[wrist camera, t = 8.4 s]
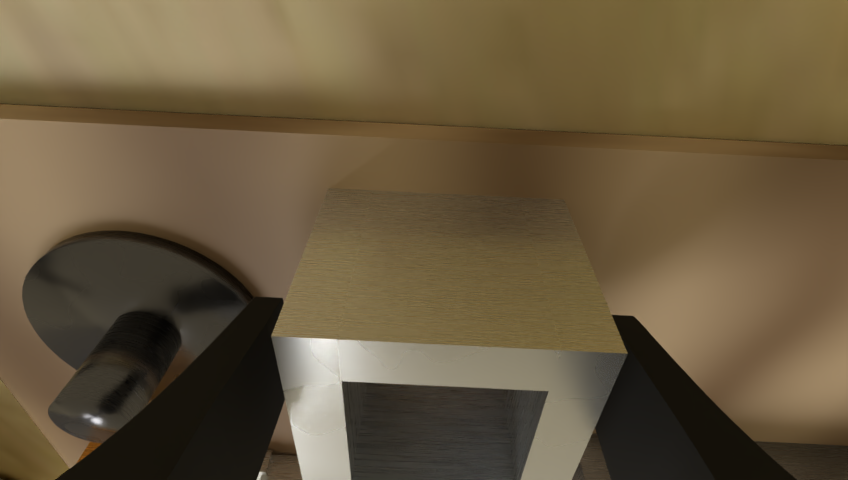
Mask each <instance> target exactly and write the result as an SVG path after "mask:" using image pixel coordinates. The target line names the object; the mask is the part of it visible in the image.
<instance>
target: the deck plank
mask: <svg viewBox="0 0 848 480" xmlns="http://www.w3.org/2000/svg"><path fill="white" fill-rule="evenodd" d="M328 188H337V189H357V190H378V191H398V192H418V193H439V194H459V195H480V196H500V197H520V198H541V199H561V200H564V201H565V203H566V205H567V208H568V210H569V213H570V215H571V218H572V220H573V222H574V225H575V227H576V230H577V232H578V234H579V237H580V239H581V242H582V244H583V247H584V249H585V251H586V254H587V256H588V259H589V261H590V264H591V266H592V268H593V271H594V273H595V276H596V278H597V281H598V283H599V285H600V288H601V290H602V293H603V295H604V297H605V300H606V302H607V305H608V307H609V310H610V312H611V314H612V315H627V316H634V317H635V318H636V319H637V320H638V321H639V322H640V323H641V324H642V325H643V326H644V327H645V328H646V329H647V331H648V332H649V333H650V334H651V335H652V336H653V337H654V338H655V339H656V341H657V342H658V343H659V344H660V345H661V346H662V347H663V348H664V349H665V350H666V352H667V353H668V354H669V355H670V356H671V357H672V358H673V359H674V360H675V361H676V363H677V364H678V365H679V366H680V367H681V368H682V369H683V370H684V371H685V372H686V373H687V374H688V376H689V377H690V378H691V379H692V380H693V381H694V382H695V383H696V384H697V385H698V386H699V387H700V388H701V389H702V390H703V391H704V392H705V393H706V395H707V396H708V397H709V398H710V399H711V400H712V401H713V402H714V403H715V404H716V405H717V406H718V407H719V408H720V409H721V410H722V411H723V412H724V413H725V414H726V415H727V416H728V417H729V418H730V419H731V420H732V421H733V422H734V423H735V424H736V425H737V426H739V427H740V428H741V429H742V430H743V431H744V432H745V433H746V434H747V435H748V436H749V437H750V438H751V439H752V440H753V441H761V442H782V443H802V444H823V445H844V446H848V146H841V145H821V144H801V143H781V142H760V141H740V140H720V139H699V138H679V137H659V136H639V135H618V134H598V133H578V132H557V131H537V130H517V129H497V128H476V127H456V126H436V125H416V124H395V123H375V122H355V121H334V120H314V119H294V118H274V117H253V116H233V115H213V114H192V113H172V112H152V111H132V110H111V109H91V108H71V107H50V106H30V105H10V104H0V379H1V380H2V382H3V383H4V384H5V385H6V387H7V388H8V389H9V391H10V392H11V393H12V395H13V396H14V397H15V398H16V400H17V401H18V402H19V404H20V405H21V406H22V407H23V409H24V410H25V411H26V413H27V414H28V415H29V416H30V418H31V419H32V420H33V422H34V423H35V424H36V426H37V427H38V428H39V429H40V431H41V432H42V433H43V435H44V436H45V437H46V438H47V440H48V441H49V442H50V444H51V445H52V446H53V448H54V449H55V450H56V451H57V453H58V454H59V455H60V457H61V458H62V459H63V460H64V462H65V463H66V464H67V466H68V467H69V468H71V467H73V466H74V465H75V464H76V463H77V461H78V460H79V458H80V457H81V455H82V454H83V452H84V450H85V449H86V447H87V446H88V444H89V443H90V441H86V440H83V439H80V438H77V437H74V436H72V435H70V434H68V433H66V432H65V431H63V430H61V429H60V428H59V427H57V426H56V425H55V424H54V423H53V422H52V420H51V419H50V417H49V415H48V408H49V406H50V405H51V403H52V402H53V401H54V400H55V398H56V397H57V396H58V394H59V393H60V392H61V390H62V389H63V388H64V387H65V385H66V384H67V383H68V381H69V380H70V379H71V377H72V376H73V375H74V374H75V372H76V371H77V370H76V369H74V368H72V367H71V366H70V365H68V364H67V363H66V362H64V361H63V360H62V359H60V358H59V357H58V356H57V355H56V354H55V353H54V352H53V351H52V350H50V348H49V347H48V346H47V345H46V344H45V343H44V342H43V341H42V340H41V339H40V337H39V336H38V334H37V333H36V332H35V330H34V329H33V327H32V325H31V323H30V322H29V320H28V318H27V315H26V312H25V310H24V306H23V300H22V287H23V284H24V280H25V277H26V275H27V273H28V272H29V270H30V268H31V267H32V266H33V265H34V264H35V263H36V262H37V261H38V260H39V259H40V258H41V257H42V256H43V255H45V254H46V253H47V252H48V251H49V250H50V249H51V248H53V247H54V246H55V245H57V244H58V243H60V242H61V241H64V240H66V239H68V238H70V237H73V236H76V235H80V234H83V233H87V232H95V231H129V232H138V233H143V234H148V235H153V236H157V237H160V238H163V239H167V240H170V241H173V242H176V243H178V244H181V245H183V246H186V247H188V248H190V249H192V250H194V251H196V252H198V253H200V254H202V255H204V256H206V257H208V258H209V259H211V260H212V261H214V262H216V263H217V264H219V265H220V266H222V267H223V268H224V269H226V270H227V271H228V272H230V273H231V274H232V275H233V276H234V277H235V278H237V279H238V280H239V281H240V282H241V283H242V284H243V285H244V286H245V287H246V288H247V290H248V291H249V292H250V293H251V294H252V295H253V297H275V298H283V302H285V299H286V297H287V294H288V291H289V289H290V286H291V284H292V281H293V278H294V276H295V273H296V271H297V268H298V265H299V263H300V260H301V258H302V255H303V253H304V250H305V247H306V245H307V242H308V240H309V237H310V234H311V232H312V229H313V227H314V224H315V221H316V219H317V216H318V214H319V211H320V209H321V206H322V203H323V201H324V198H325V196H326V193H327V190H328ZM150 402H151V400H150V401H149V403H150ZM149 403H148V404H149ZM148 404H147V405H148ZM593 433H596V430H595V428H594V431H593ZM596 434H597V433H596ZM268 450H272V452H273V455H289V456H297V452H296V447H295V442H294V438H293V433H292V429H291V424H290V420H289V415H288V411H287V406H286V402H285V401H284V404H283V407H282V410H281V413H280V416H279V419H278V421H277V424H276V427H275V430H274V433H273V436H272V438H271V441H270V444H269V447H268Z"/></svg>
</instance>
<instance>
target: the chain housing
mask: <svg viewBox="0 0 848 480" xmlns="http://www.w3.org/2000/svg"><path fill="white" fill-rule="evenodd" d="M754 442H755V443H756V444H757V445H758V446H759V447H761V448H762V449H763V450H764V451H765V452H766V453H767V454H768V455H769V456H770V457H771V458H773V459H774V460H775V461H776V462H777V463H778V464H779V465H780V466H782V467H783V468H784V469H785V470H786V471H787V472H789V473H790V474H791V475H792V476H793V477H794V478H796V479H797V480H848V446H844V445H823V444H802V443H782V442H761V441H754ZM572 480H611V478H610V475H609V471H608V468H607V465H606V462H605V459H604V456H603V452H602V449H601V446H600V443H599V439H598V436H597V434H596V433H592V435H591V437H590V440H589V442H588V444H587V446H586V449H585V451H584V453H583V455H582V458H581V460H580V462H579V464H578V467H577V469H576V471H575V473H574V476H573V478H572Z"/></svg>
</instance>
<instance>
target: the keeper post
mask: <svg viewBox="0 0 848 480" xmlns="http://www.w3.org/2000/svg"><path fill="white" fill-rule="evenodd" d="M253 298H254V297H253V295H252V294H251V293H250V292H249V291H248V290H247V288H246V287H245V286H244V285H243V284H242V283H241V282H240V281H239V280H238V279H237V278H235V277H234V276H233V275H232V274H231V273H230V272H228V271H227V270H226V269H224V268H223V267H222V266H220V265H219V264H217V263H216V262H214V261H212V260H211V259H209V258H208V257H206V256H204V255H202V254H200V253H198V252H196V251H194V250H192V249H190V248H188V247H186V246H183V245H181V244H178V243H176V242H173V241H170V240H167V239H163V238H160V237H157V236H153V235H148V234H143V233H138V232H129V231H95V232H87V233H83V234H80V235H76V236H73V237H70V238H68V239H66V240H64V241H61V242H60V243H58V244H57V245H55V246H54V247H53V248H51V249H50V250H49V251H48V252H47V253H46V254H45V255H43V256H42V257H41V258H40V259H39V260H38V261H37V262H36V263H35V264H34V265H33V266H32V267H31V268H30V270H29V272H28V273H27V275H26V277H25V280H24V284H23V287H22V300H23V306H24V310H25V312H26V315H27V318H28V320H29V322H30V323H31V325H32V327H33V329H34V330H35V332H36V333H37V334H38V336H39V337H40V339H41V340H42V341H43V342H44V343H45V344H46V345H47V346H48V347H49V348H50V350H52V351H53V352H54V353H55V354H56V355H57V356H58V357H59V358H60V359H62V360H63V361H64V362H66V363H67V364H68V365H70V366H71V367H72V368H74V369H76V370H77V371H76V372H75V374H74V375H73V376H72V377H71V379H70V380H69V381H68V383H67V384H66V385H65V387H64V388H63V389H62V390H61V392H60V393H59V394H58V396H57V397H56V398H55V400H54V401H53V402H52V403H51V405H50V406H49V408H48V415H49V417H50V419H51V420H52V422H53V423H54V424H55V425H56V426H57V427H59V428H60V429H61V430H63V431H65V432H66V433H68V434H70V435H72V436H74V437H77V438H80V439H83V440H86V441H90V442H95V443H103V442H105V441H106V440H107V439H108V438H109V437H111V436H112V435H113V434H114V433H116V432H117V431H118V430H119V429H120V428H121V427H123V426H124V425H125V424H126V423H127V422H129V421H130V420H131V419H132V418H133V417H134V416H135V415H137V414H138V413H139V412H140V411H141V410H142V409H143V408H144V407H146V406H147V404H148V403H149V401H150V400H151V401H152V400H153V399H154V398H155V397H156V396H157V395H159V394H160V393H161V392H162V391H163V390H164V389H165V388H166V387H167V386H168V385H169V384H170V383H171V382H173V381H174V380H175V379H176V378H177V377H178V376H179V375H180V374H181V373H182V372H183V371H184V370H185V369H186V368H187V367H188V366H189V365H190V364H191V363H192V362H193V361H194V360H195V359H196V358H197V357H198V356H199V355H200V354H201V353H202V352H203V351H204V350H205V349H206V348H207V347H208V346H209V345H210V344H211V343H212V342H213V341H214V340H215V338H216V337H217V336H218V335H219V334H220V333H221V332H222V331H223V330H224V329H225V328H226V327H227V326H228V325H229V324H230V323H231V321H232V320H233V319H234V318H235V317H236V316H237V315H238V314H239V313H240V312H241V311H242V310H243V308H244V307H245V306H246V305H247V304H248V303H249V302H250V301H251V300H252V299H253Z"/></svg>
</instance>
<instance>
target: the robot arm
mask: <svg viewBox="0 0 848 480" xmlns="http://www.w3.org/2000/svg"><path fill="white" fill-rule="evenodd" d="M283 304H284V302H283V298H275V297H254V298H253V299H252V300H251V301H250V302H249V303H248V304H247V305H246V306H245V307H244V308H243V310H242V311H241V312H240V313H239V314H238V315H237V316H236V317H235V318H234V319H233V320H232V321H231V323H230V324H229V325H228V326H227V327H226V328H225V329H224V330H223V331H222V332H221V333H220V334H219V335H218V336H217V337H216V338H215V340H214V341H213V342H212V343H211V344H210V345H209V346H208V347H207V348H206V349H205V350H204V351H203V352H202V353H201V354H200V355H199V356H198V357H197V358H196V359H195V360H194V361H193V362H192V363H191V364H190V365H189V366H188V367H187V368H186V369H185V370H184V371H183V372H182V373H181V374H180V375H179V376H178V377H177V378H176V379H175V380H174V381H173V382H171V383H170V384H169V385H168V386H167V387H166V388H165V389H164V390H163V391H162V392H161V393H160V394H159V395H157V396H156V397H155V398H154V399H153V400H152V401H151V402H150V403H149V404H148V405H147V406H146V407H144V408H143V409H142V410H141V411H140V412H139V413H138V414H137V415H135V416H134V417H133V418H132V419H131V420H130V421H129V422H127V423H126V424H125V425H124V426H123V427H121V428H120V429H119V430H118V431H117V432H116V433H114V434H113V435H112V436H111V437H109V438H108V439H107V440H106V441H105V442H103V443H102V444H101V445H100V446H98V447H97V448H96V449H95V450H93V451H92V452H91V453H90V454H88V455H87V456H86V457H84V458H83V459H82V460H81V461H79V462H78V463H77V464H75V465H74V466H73V467H71V468H70V469H69V470H67V471H66V472H65V473H63V474H62V475H61V476H59V477H58V478H57V479H55V480H257V477H258V475H259V472H260V469H261V466H262V463H263V461H264V458H265V455H266V452H267V450H268V447H269V444H270V441H271V438H272V436H273V433H274V430H275V427H276V424H277V421H278V419H279V416H280V413H281V410H282V407H283V404H284V401H285V397H284V392H283V388H282V383H281V379H280V374H279V370H278V365H277V361H276V356H275V351H274V347H273V342H272V338H271V335H272V333H273V330H274V328H275V325H276V322H277V320H278V317H279V315H280V312H281V309H282V307H283ZM612 317H613V319H614V322H615V324H616V327H617V329H618V331H619V334H620V336H621V339H622V341H623V343H624V346H625V348H626V351H627V353H628V354H627V356H626V358H625V361H624V363H623V365H622V368H621V370H620V372H619V374H618V377H617V379H616V381H615V383H614V386H613V388H612V390H611V392H610V395H609V397H608V399H607V401H606V404H605V406H604V408H603V410H602V413H601V415H600V417H599V419H598V422H597V424H596V426H595V430H596V433H597V436H598V439H599V443H600V446H601V449H602V452H603V456H604V459H605V462H606V465H607V468H608V471H609V475H610V478H611V480H797V479H796V478H794V477H793V476H792V475H791V474H790V473H789V472H787V471H786V470H785V469H784V468H783V467H782V466H780V465H779V464H778V463H777V462H776V461H775V460H774V459H773V458H771V457H770V456H769V455H768V454H767V453H766V452H765V451H764V450H763V449H762V448H761V447H759V446H758V445H757V444H756V443H755V442H754V441H753V440H752V439H751V438H750V437H749V436H748V435H747V434H746V433H745V432H744V431H743V430H742V429H741V428H740V427H739V426H737V425H736V424H735V423H734V422H733V421H732V420H731V419H730V418H729V417H728V416H727V415H726V414H725V413H724V412H723V411H722V410H721V409H720V408H719V407H718V406H717V405H716V404H715V403H714V402H713V401H712V400H711V399H710V398H709V397H708V396H707V395H706V393H705V392H704V391H703V390H702V389H701V388H700V387H699V386H698V385H697V384H696V383H695V382H694V381H693V380H692V379H691V378H690V377H689V376H688V374H687V373H686V372H685V371H684V370H683V369H682V368H681V367H680V366H679V365H678V364H677V363H676V361H675V360H674V359H673V358H672V357H671V356H670V355H669V354H668V353H667V352H666V350H665V349H664V348H663V347H662V346H661V345H660V344H659V343H658V342H657V341H656V339H655V338H654V337H653V336H652V335H651V334H650V333H649V332H648V331H647V329H646V328H645V327H644V326H643V325H642V324H641V323H640V322H639V321H638V320H637V319H636V318H635V317H634V316H627V315H612ZM0 480H2V479H0Z"/></svg>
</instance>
